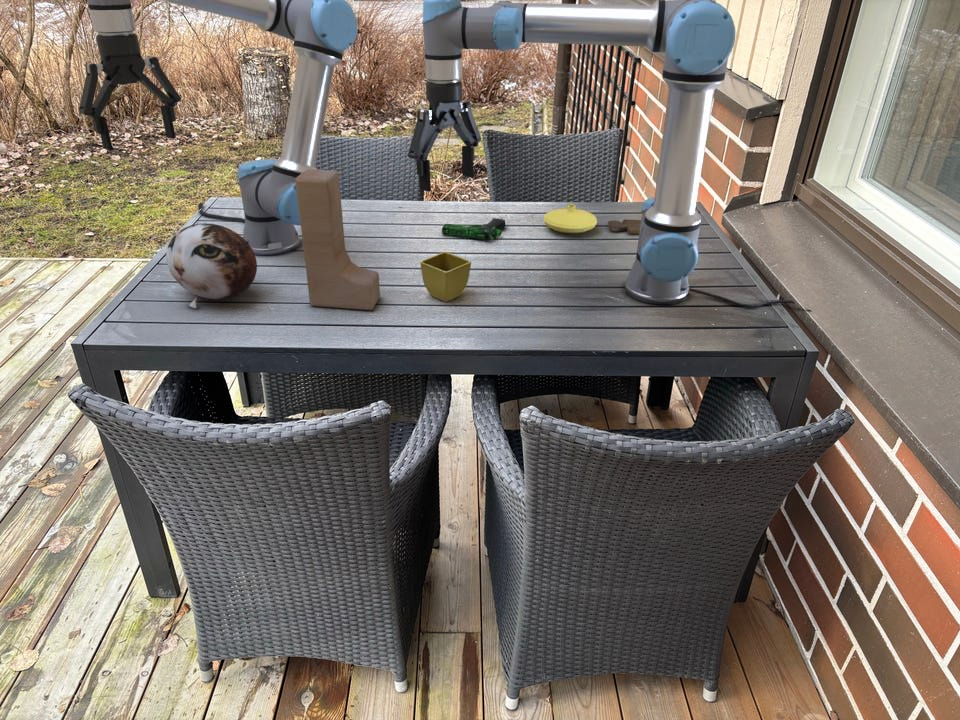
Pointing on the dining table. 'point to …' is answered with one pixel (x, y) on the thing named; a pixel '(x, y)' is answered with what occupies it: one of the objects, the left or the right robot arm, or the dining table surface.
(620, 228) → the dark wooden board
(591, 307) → the dining table surface
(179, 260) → the cat face balloon
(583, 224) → the yellow knobbed lid
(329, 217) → the decorative block
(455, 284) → the square tapered planter
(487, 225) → the handgun
